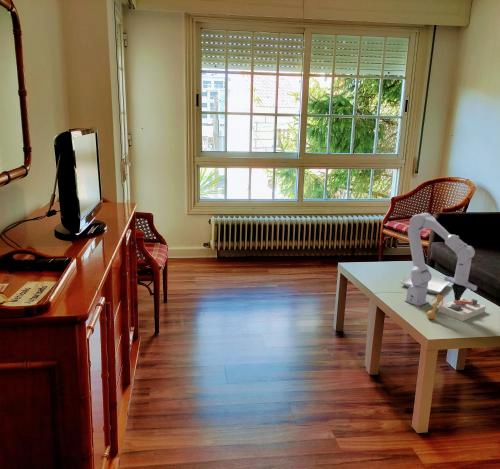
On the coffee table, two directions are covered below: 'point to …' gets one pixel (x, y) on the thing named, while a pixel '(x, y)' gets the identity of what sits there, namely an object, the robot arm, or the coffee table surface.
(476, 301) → the slider
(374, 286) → the coffee table surface
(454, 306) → the button
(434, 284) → the salad plate
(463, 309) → the panel
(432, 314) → the figurine
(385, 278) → the coffee table surface
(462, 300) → the plate
